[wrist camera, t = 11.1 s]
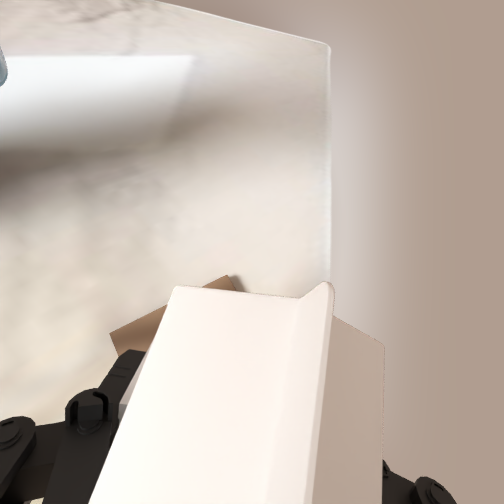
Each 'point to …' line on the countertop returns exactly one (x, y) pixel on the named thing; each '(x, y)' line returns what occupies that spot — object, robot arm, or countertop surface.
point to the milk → (251, 406)
